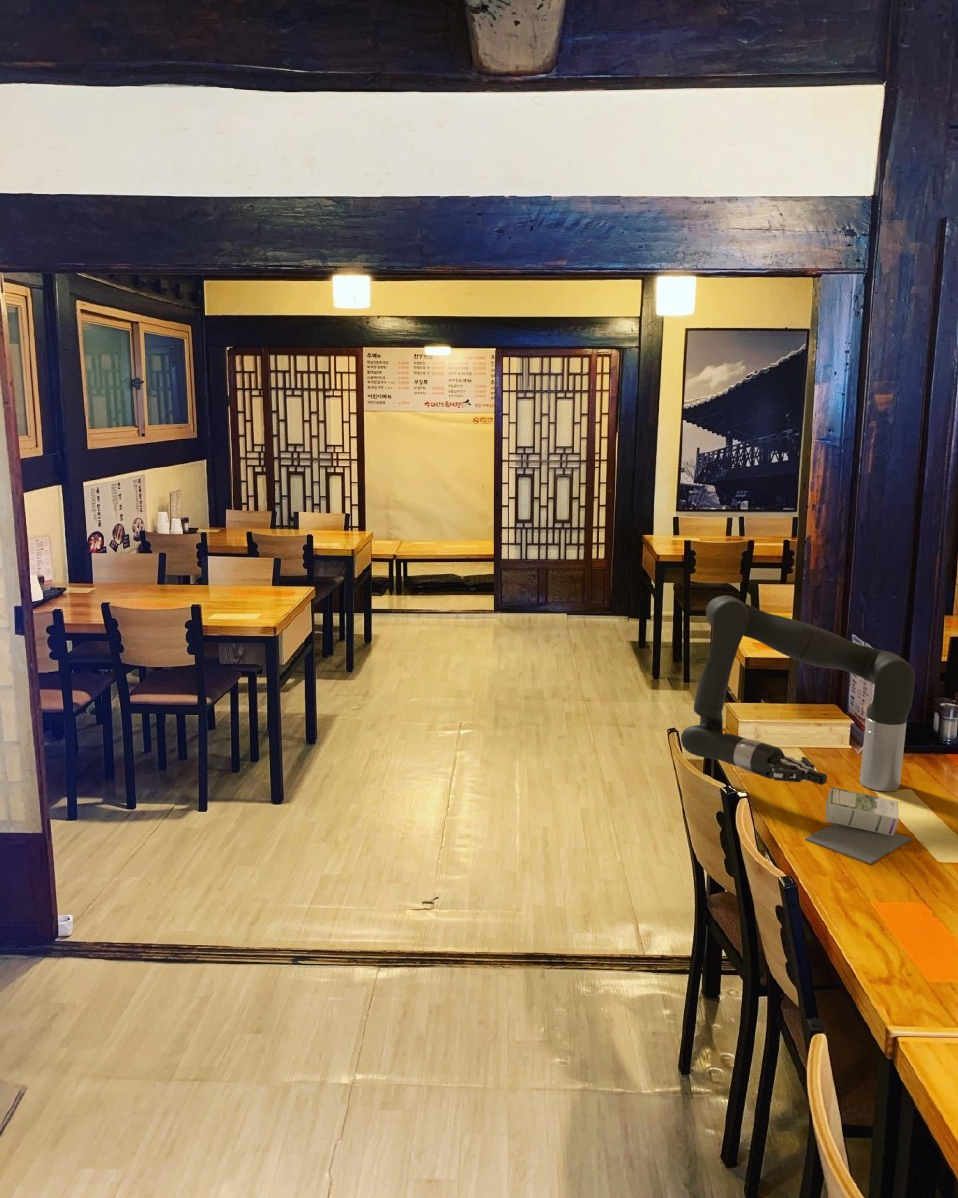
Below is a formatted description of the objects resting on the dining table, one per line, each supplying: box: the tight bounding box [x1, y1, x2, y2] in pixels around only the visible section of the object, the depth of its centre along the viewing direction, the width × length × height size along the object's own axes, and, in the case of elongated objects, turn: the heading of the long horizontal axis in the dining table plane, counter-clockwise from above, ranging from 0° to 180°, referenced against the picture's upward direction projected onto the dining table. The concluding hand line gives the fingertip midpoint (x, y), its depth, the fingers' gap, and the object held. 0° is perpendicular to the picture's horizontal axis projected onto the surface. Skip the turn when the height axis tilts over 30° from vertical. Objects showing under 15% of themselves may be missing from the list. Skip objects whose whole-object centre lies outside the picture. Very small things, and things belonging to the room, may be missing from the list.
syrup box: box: [824, 787, 900, 836], centre depth 220 cm, size 6×6×14 cm
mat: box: [804, 823, 913, 865], centre depth 216 cm, size 18×15×1 cm
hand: (825, 780), depth 221 cm, fingers closed
